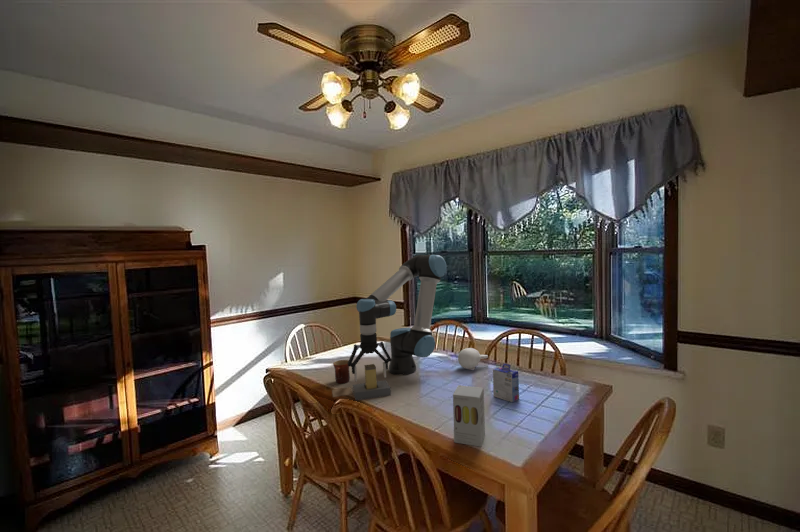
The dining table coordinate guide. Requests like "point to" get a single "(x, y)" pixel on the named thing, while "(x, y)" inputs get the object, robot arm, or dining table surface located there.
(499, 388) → the ink cartridge box
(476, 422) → the supplement box
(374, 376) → the plug
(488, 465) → the dining table surface
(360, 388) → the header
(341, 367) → the mug
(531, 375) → the dining table surface
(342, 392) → the pad
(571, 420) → the dining table surface
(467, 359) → the piggy bank
